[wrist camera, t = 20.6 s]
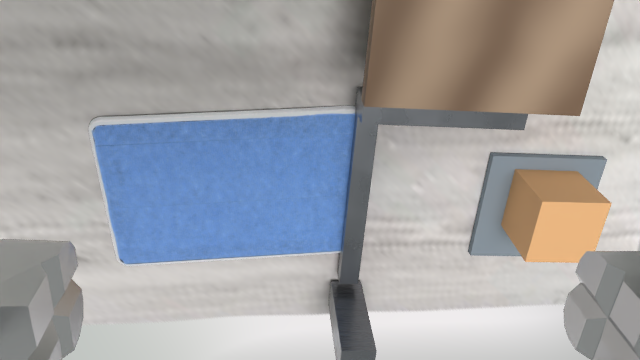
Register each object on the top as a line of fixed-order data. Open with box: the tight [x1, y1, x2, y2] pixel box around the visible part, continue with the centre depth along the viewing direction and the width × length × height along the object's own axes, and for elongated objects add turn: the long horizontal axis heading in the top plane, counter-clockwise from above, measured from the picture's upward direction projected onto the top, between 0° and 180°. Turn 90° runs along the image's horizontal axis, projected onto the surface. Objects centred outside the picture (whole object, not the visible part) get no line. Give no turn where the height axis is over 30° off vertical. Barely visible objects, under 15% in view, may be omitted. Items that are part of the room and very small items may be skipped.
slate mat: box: [468, 153, 607, 256], centre depth 46 cm, size 9×9×1 cm
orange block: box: [501, 169, 612, 263], centre depth 43 cm, size 5×5×5 cm
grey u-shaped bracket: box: [329, 88, 528, 360], centre depth 42 cm, size 12×19×8 cm, turn 176°
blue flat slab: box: [88, 105, 355, 266], centre depth 43 cm, size 19×13×1 cm, turn 91°
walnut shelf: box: [361, 0, 614, 116], centre depth 35 cm, size 13×10×8 cm
